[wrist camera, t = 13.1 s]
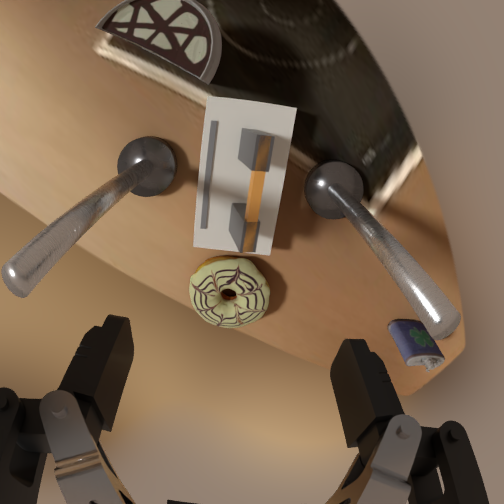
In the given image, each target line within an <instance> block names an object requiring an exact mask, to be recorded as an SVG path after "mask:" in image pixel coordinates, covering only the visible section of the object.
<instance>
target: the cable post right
mask: <svg viewBox="0 0 504 504" xmlns="http://www.w3.org/2000/svg"><path fill="white" fill-rule="evenodd" d="M304 192H305V197H306V199H307V201H308V203H309V205H310V206H311V208H312V209H313V211H314V212H315V213H317V214H318V215H320V216H321V217H324V218H327V219H340V218H343V217H346V218H347V219H348V220H349V221H350V223H351V224H352V225H353V226H354V228H355V229H356V230H357V231H358V233H359V234H360V235H361V237H362V238H363V239H364V240H365V242H366V243H367V244H368V246H369V247H370V248H371V250H372V251H373V252H374V254H375V255H376V256H377V258H378V259H379V260H380V262H381V263H382V264H383V266H384V267H385V269H386V270H387V271H388V273H389V274H390V276H391V277H392V278H393V280H394V281H395V283H396V284H397V285H398V287H399V288H400V290H401V291H402V293H403V294H404V296H405V297H406V299H407V300H408V301H409V303H410V304H411V306H412V307H413V309H414V311H415V312H416V314H417V315H418V317H419V318H420V320H421V321H422V323H423V324H424V326H425V328H426V329H427V331H428V332H429V334H430V336H431V337H432V338H433V339H434V340H441V339H444V338H446V337H447V336H449V335H450V334H451V333H452V332H453V331H454V330H455V329H456V328H457V326H458V325H459V323H460V319H461V316H460V313H459V312H458V311H457V310H456V308H455V307H454V306H453V304H452V303H451V302H450V301H449V299H448V298H447V297H446V296H445V294H444V293H443V292H442V291H441V290H440V288H439V287H438V286H437V285H436V284H435V282H434V281H433V280H432V279H431V278H430V276H429V275H428V274H427V273H426V272H425V271H424V269H423V268H422V267H421V266H420V265H419V264H418V263H417V261H416V260H415V259H414V258H413V257H412V256H411V255H410V254H409V253H408V251H407V250H406V249H405V248H404V247H403V246H402V245H401V244H400V243H399V242H398V241H397V240H396V239H395V237H394V236H393V235H392V234H391V233H390V232H389V231H388V230H387V229H386V228H385V227H384V226H383V225H382V224H381V223H380V222H379V221H378V220H377V219H376V218H375V217H374V216H373V215H372V214H371V213H370V212H369V211H368V210H367V209H366V208H365V207H364V206H363V205H362V204H361V203H360V202H361V200H362V197H363V182H362V179H361V177H360V175H359V173H358V172H357V171H356V170H355V169H354V168H353V167H351V166H350V165H348V164H347V163H345V162H343V161H340V160H326V161H323V162H321V163H319V164H317V165H316V166H315V167H313V168H312V169H311V171H310V172H309V174H308V175H307V178H306V180H305V185H304Z"/></svg>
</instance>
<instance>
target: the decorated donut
mask: <svg viewBox="0 0 504 504" xmlns="http://www.w3.org/2000/svg"><path fill="white" fill-rule="evenodd" d="M224 289H232V290H234V291H236V296H227V295H225V294H224V293H223V292H222V290H224ZM189 293H190V298H191V303H192V305H193V307H194V309H195V310H196V311H197V313H198V314H199V315H200V316H201V317H202V318H203V319H204V320H205V321H207V322H209V323H211V324H214V325H216V326H219V327H225V328H238V327H242V326H245V325H247V324H250V323H252V322H255V321H257V320H258V319H260V318H261V317H262V316H263V315H264V313H265V311H266V310H267V308H268V304H269V296H270V287H269V284H268V283H267V281H266V280H265V278H264V276H263V275H262V273H261V272H260V271H259V270H258V269H257V268H256V267H255V265H254V264H253V263H252V262H251V261H250V260H248V259H245V258H237V257H231V256H217V257H213V258H210V259H207V260H206V261H205V262H204V263H203V264H201V265H200V266H199V267H198V268H197V270H196V272H195V274H194V275H192V276H191V278H190V286H189Z"/></svg>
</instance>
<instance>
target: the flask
mask: <svg viewBox="0 0 504 504" xmlns="http://www.w3.org/2000/svg"><path fill="white" fill-rule="evenodd" d="M389 324H390V325H388V326H387V327H388V330H389V332H390V334H391V335H392V337H393V339H394V341H395V343H396V345H397V347H398V349H399V351H400V353H401V355H402V357H403V359H404V361H405V364H406V365H407V366H415V365H425V367H426V371H427V372H430V371H428V370H429V369H435V367H438V366H440V365H441V364H442V363H443V362H444V360H445V358H444V356H443V354H442V353H441V351H440V349H439V347H438V346H437V344H436V343H435V341H434V339H433V338H432V337H431V336H430V334H429V332H428V331H427V329H426V328H425V326H424V324H423V323H422V322H421V321H418V320H410V319H408V320H407V319H397V320H392V321H391V322H390V323H389Z"/></svg>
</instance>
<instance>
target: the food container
mask: <svg viewBox="0 0 504 504" xmlns="http://www.w3.org/2000/svg"><path fill="white" fill-rule="evenodd" d="M95 28H98V29H100V30H103V31H105V32H107V33H110V34H112V35H115V36H117V37H119V38H121V39H124V40H126V41H128V42H130V43H132V44H135V45H137V46H139V47H141V48H143V49H145V50H147V51H149V52H151V53H153V54H155V55H157V56H159V57H161V58H163V59H165V60H167V61H169V62H170V63H172V64H174V65H176V66H178V67H180V68H181V69H183V70H185V71H187V72H189V73H190V74H192V75H194V76H196V77H197V78H199V79H200V80H202V81H203V82H205V83H207V84H209V83H210V82H211V80H212V78H213V77H214V75H215V73H216V70H217V68H218V66H219V62H220V58H221V51H222V40H221V33H220V30H219V26H218V24H217V22H216V20H215V18H214V17H213V15H212V14H211V13H210V12H209V11H208V9H206V8H205V7H204V6H203V5H202V4H200V3H199V2H197V1H195V0H125V1H123V2H122V3H120V4H118V5H117V6H115V7H114V8H113V9H111V10H110V11H109V12H108V13H107V14H106V15H105V16H104V17H103V18H102V19H101V20H100V21H99V23H98V24H97V25H96V27H95Z"/></svg>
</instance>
